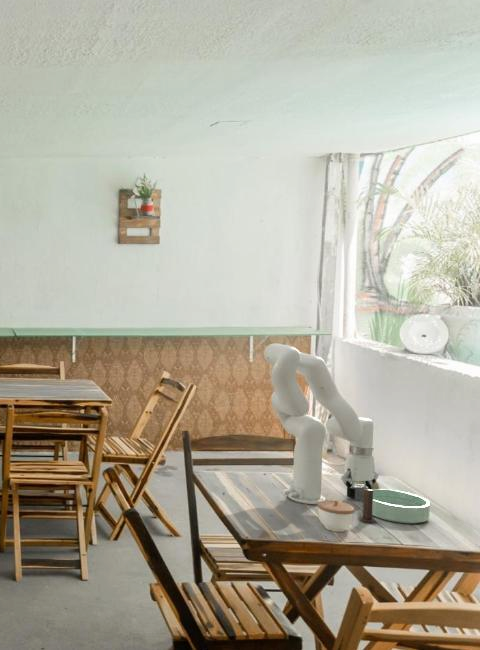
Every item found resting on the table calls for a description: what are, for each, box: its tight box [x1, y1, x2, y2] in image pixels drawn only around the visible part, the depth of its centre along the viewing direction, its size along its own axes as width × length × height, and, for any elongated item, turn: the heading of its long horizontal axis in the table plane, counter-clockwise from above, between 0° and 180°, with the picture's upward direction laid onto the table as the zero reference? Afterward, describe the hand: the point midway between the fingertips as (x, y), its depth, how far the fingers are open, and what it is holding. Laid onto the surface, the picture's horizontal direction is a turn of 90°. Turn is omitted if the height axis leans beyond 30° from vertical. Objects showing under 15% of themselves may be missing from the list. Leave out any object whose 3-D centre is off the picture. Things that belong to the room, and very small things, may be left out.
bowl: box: [363, 488, 431, 524], centre depth 237 cm, size 20×20×6 cm
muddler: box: [359, 489, 376, 524], centre depth 230 cm, size 4×4×11 cm
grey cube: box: [351, 483, 369, 502], centre depth 254 cm, size 5×5×5 cm
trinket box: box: [317, 499, 355, 533], centre depth 224 cm, size 11×11×9 cm
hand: (359, 496), depth 254 cm, fingers closed on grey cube, 6 cm apart
